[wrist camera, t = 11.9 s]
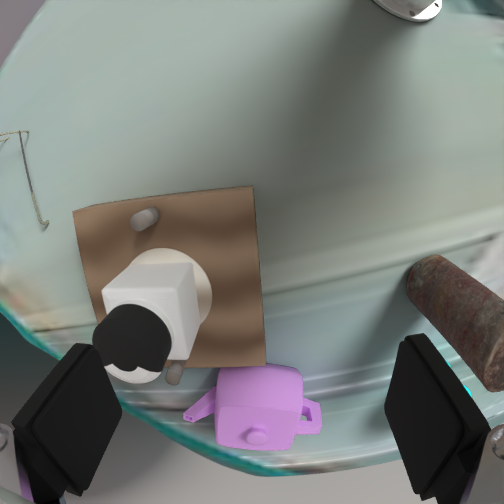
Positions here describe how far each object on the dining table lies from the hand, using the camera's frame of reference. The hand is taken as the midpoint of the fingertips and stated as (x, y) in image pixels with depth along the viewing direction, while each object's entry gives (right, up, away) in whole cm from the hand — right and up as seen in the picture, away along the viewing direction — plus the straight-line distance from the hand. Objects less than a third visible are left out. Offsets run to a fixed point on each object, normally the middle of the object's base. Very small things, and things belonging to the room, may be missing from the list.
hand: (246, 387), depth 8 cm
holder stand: (-9, +1, +28) cm, 30 cm away
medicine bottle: (-9, 0, +24) cm, 25 cm away
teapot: (+1, -16, +33) cm, 37 cm away
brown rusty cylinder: (+23, 0, +28) cm, 37 cm away
